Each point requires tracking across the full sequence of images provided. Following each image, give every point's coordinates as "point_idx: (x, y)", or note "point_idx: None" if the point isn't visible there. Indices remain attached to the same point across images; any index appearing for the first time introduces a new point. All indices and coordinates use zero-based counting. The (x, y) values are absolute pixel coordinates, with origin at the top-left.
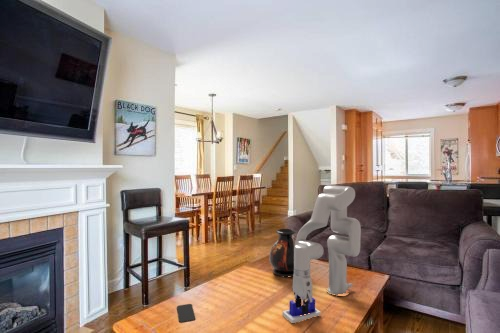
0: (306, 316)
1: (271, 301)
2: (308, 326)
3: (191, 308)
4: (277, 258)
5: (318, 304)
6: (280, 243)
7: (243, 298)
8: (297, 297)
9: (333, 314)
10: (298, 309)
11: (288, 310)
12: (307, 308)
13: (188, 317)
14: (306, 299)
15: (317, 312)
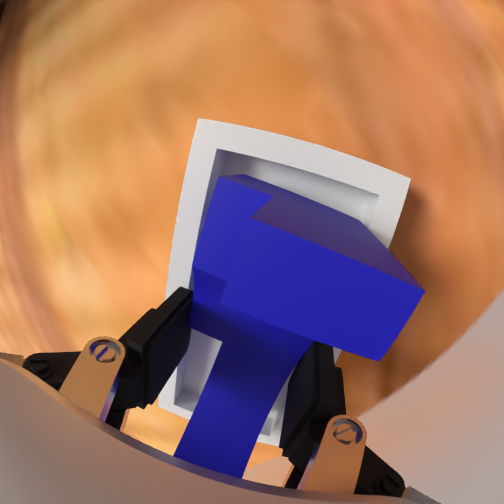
0: (334, 356)
1: (34, 291)
2: (384, 381)
3: None
4: None
5: (225, 11)
6: None
7: (13, 345)
8: (120, 403)
9: (440, 64)
10: (243, 400)
11: (169, 383)
12: (340, 397)
13: None
14: (305, 479)
15: (392, 220)
